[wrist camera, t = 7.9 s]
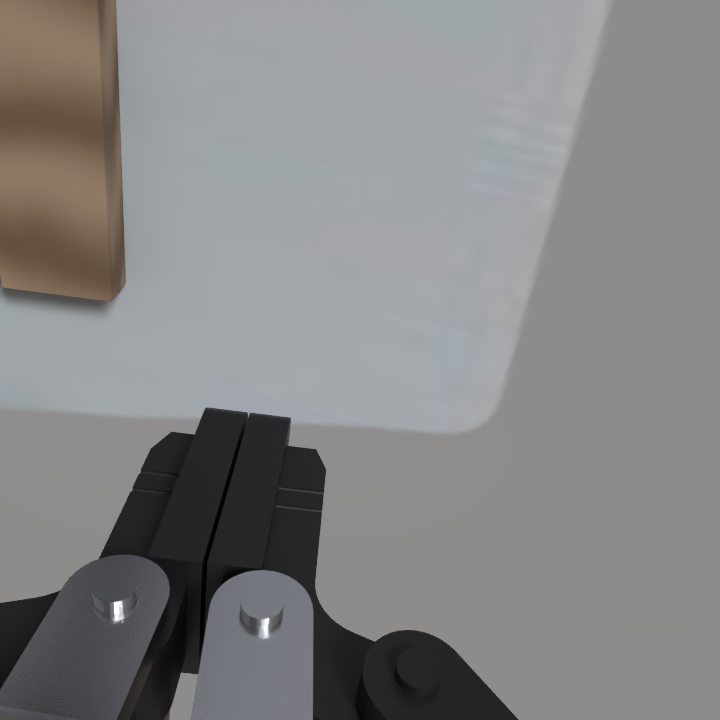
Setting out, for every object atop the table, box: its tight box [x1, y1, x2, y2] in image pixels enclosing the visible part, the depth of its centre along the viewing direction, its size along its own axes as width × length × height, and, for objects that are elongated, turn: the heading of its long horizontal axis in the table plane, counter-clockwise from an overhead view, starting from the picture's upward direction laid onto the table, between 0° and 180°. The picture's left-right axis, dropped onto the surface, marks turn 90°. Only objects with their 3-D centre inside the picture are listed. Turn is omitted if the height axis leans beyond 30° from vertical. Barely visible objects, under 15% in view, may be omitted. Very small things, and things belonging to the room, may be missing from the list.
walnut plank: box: [0, 0, 126, 302], centre depth 34 cm, size 20×6×2 cm, turn 172°
